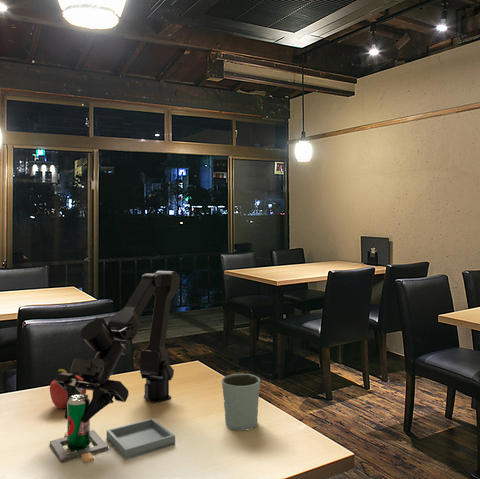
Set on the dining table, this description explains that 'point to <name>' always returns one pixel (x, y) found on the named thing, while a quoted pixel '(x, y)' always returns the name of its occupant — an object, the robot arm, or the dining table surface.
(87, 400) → the soda can
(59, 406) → the vegetable
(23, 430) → the dining table surface
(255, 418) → the grey-green cup
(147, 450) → the parts tray
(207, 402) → the dining table surface
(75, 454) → the grey rectangular frame
